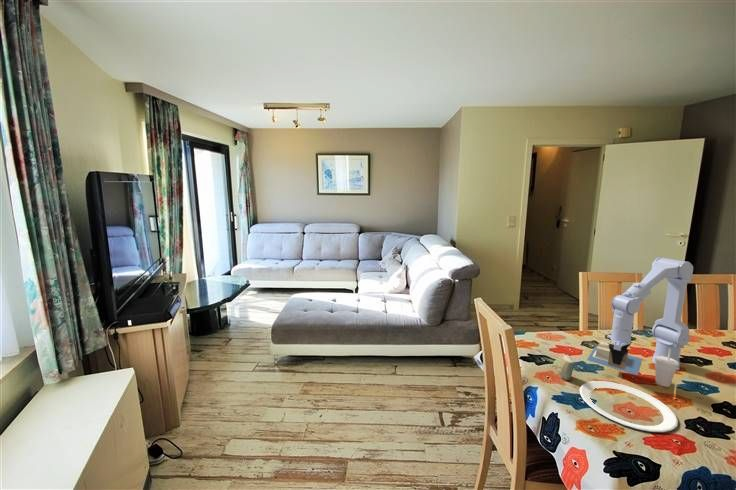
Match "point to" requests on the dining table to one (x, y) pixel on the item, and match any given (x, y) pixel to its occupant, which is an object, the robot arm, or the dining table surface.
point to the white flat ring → (669, 417)
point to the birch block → (603, 351)
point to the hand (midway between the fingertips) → (617, 361)
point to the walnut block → (623, 363)
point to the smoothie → (665, 369)
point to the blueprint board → (631, 367)
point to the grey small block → (565, 368)
